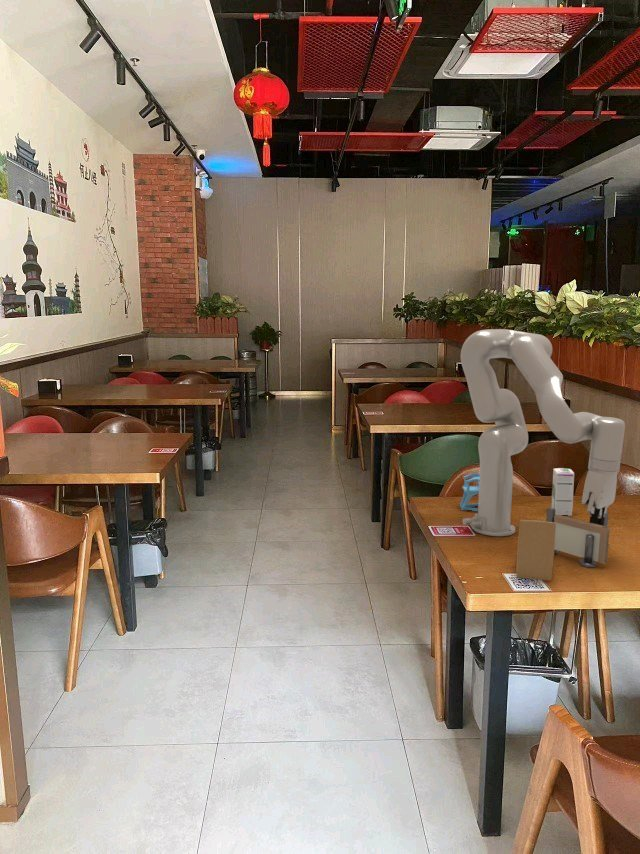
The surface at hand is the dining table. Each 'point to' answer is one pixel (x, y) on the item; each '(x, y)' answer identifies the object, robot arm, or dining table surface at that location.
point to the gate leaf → (581, 537)
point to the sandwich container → (535, 549)
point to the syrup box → (562, 491)
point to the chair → (470, 492)
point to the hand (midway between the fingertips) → (595, 530)
